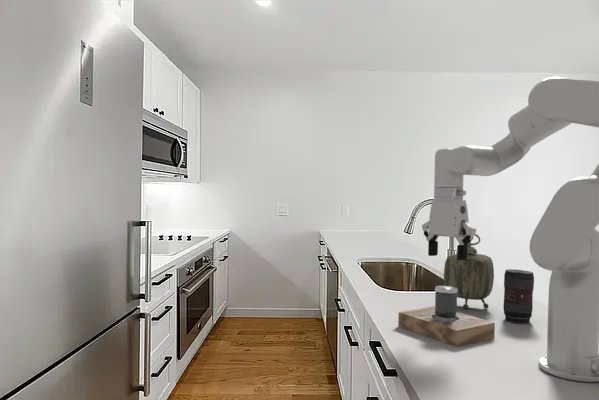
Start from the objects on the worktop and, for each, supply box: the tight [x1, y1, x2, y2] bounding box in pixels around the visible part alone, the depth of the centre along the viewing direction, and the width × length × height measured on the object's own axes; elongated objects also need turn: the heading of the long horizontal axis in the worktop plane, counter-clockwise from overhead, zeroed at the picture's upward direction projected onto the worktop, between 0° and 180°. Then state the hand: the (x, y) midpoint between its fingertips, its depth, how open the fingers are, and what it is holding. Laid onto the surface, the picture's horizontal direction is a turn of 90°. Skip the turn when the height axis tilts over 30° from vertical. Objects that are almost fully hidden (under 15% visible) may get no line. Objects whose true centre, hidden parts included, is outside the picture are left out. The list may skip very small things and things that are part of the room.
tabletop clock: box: [443, 233, 495, 310], centre depth 156 cm, size 14×9×25 cm, turn 57°
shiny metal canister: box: [434, 285, 458, 321], centre depth 128 cm, size 6×6×12 cm
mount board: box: [397, 305, 496, 348], centre depth 128 cm, size 20×15×4 cm
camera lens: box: [503, 268, 535, 325], centre depth 141 cm, size 8×8×15 cm
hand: (446, 257), depth 128 cm, fingers open, 9 cm apart
